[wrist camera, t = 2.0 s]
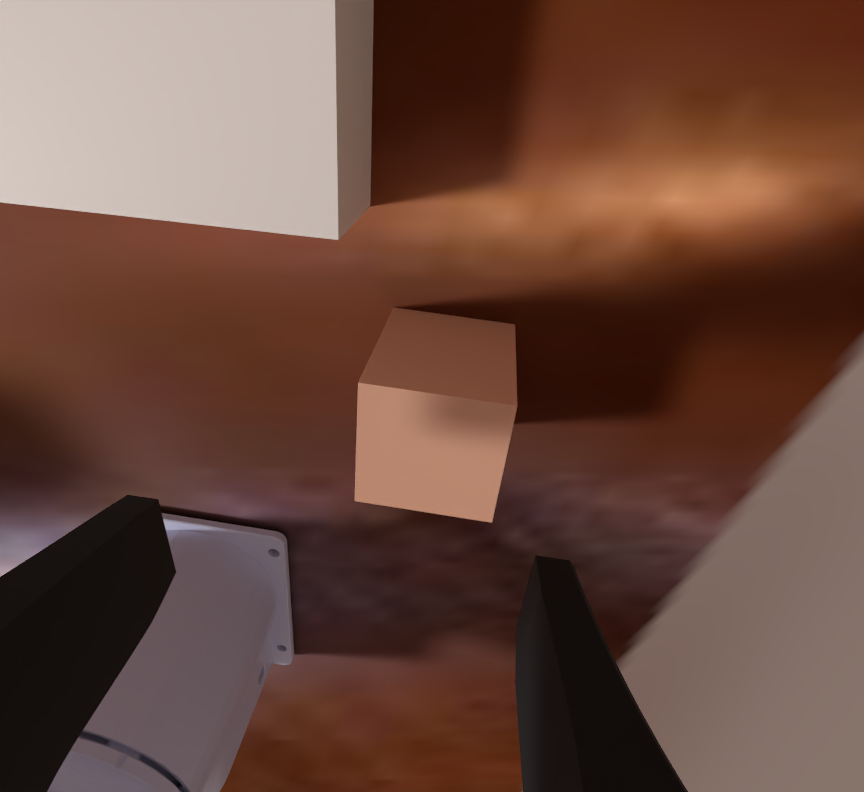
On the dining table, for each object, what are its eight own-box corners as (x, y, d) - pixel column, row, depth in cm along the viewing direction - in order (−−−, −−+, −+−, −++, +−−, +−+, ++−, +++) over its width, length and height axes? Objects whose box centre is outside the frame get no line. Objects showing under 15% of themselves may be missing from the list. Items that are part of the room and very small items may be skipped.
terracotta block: (495, 424, 20) (492, 522, 15) (387, 407, 20) (354, 500, 16) (515, 323, 18) (517, 406, 13) (393, 306, 18) (358, 382, 14)
